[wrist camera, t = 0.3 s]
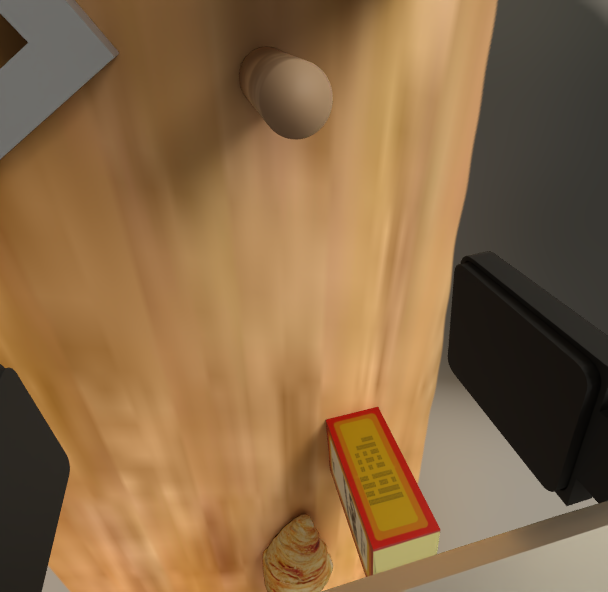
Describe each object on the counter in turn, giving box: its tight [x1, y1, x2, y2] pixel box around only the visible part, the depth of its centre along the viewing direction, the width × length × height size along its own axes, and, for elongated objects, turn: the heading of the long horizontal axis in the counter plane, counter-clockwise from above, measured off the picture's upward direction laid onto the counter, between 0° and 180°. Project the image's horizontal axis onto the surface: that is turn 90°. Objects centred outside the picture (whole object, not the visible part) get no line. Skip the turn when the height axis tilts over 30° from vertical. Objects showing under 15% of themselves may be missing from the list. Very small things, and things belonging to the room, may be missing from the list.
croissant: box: [262, 514, 333, 592], centre depth 65 cm, size 21×10×8 cm, turn 174°
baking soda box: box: [326, 407, 440, 577], centre depth 50 cm, size 10×6×16 cm
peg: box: [239, 47, 333, 139], centre depth 28 cm, size 4×4×10 cm
